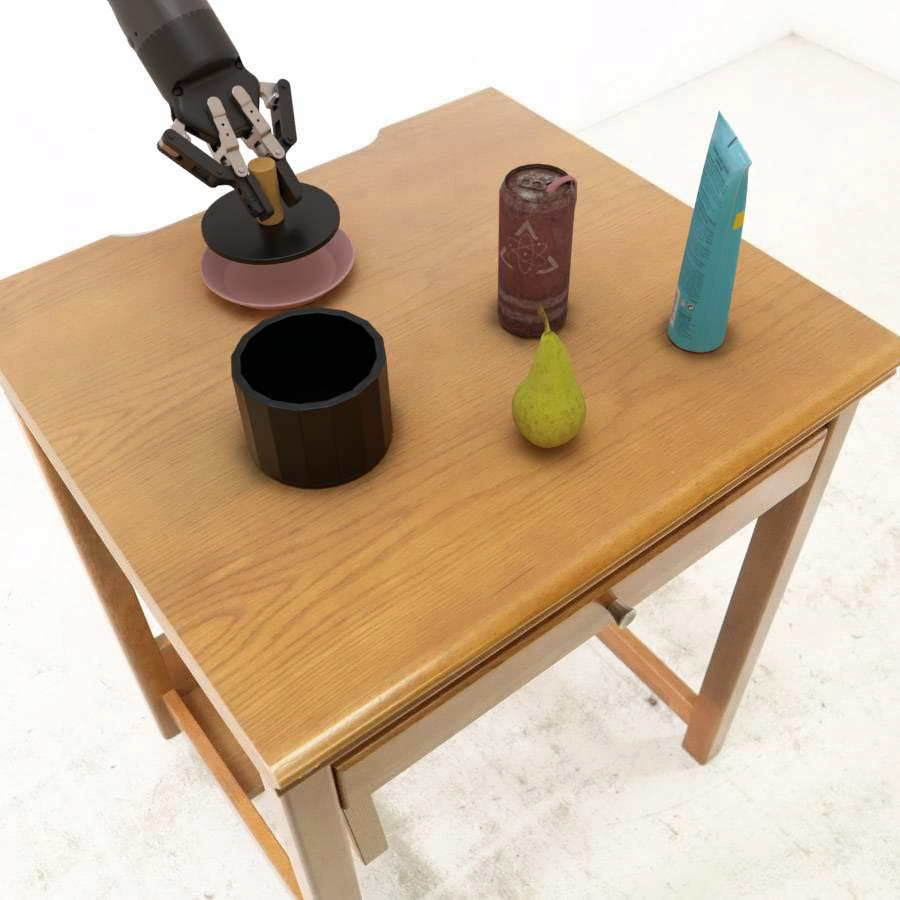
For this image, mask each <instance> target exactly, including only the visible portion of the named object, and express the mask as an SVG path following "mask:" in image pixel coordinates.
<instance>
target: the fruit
mask: <svg viewBox="0 0 900 900" xmlns="http://www.w3.org/2000/svg"><path fill="white" fill-rule="evenodd" d="M537 312H538V313H539V315H540V316H541V317H542V318H543V320H544V323H545V332H544V333H543V334H542V336H541V337H540V339H539V340H540V342H539V345H538V348H537V350H536V351H535V354H534V356H533V359H532V363H531V367H530V368H529V369H530V370H529V372H528V373H527V375H526V377H525V378H524V379H523V380H522V381H520V382H519V384H518V386H517V387H516V388H515V390H514V393H513V395H512V399H511V415H512V419H513V422H514V424H515V426H516V428H517V429H518V431H519V432H520V434H521V435H522V436H523V437H524V438H525V439H526V440H527V441H528V442H529V443H531V444H533V445H534V446H536V447H539V448H544V449H547V448H548V449H550V448H555V447H559V446H562V445H564V444H566V443H568V442H569V441H570V440H572V439H573V438H574V437H575V436H576V435H577V434H578V433H579V432H580V431H581V429H582V427H583V425H584V423H585V420H586V416H587V405H586V404H587V403H586V399H585V396H584V393H583V391H582V388H581V386H580V385H579V383H578V381H577V378H576V375H575V373H574V367H573V365H572V361H571V358H570V355H569V353H568V350H567V348H566V347H565V344H564V343H563V342H562V341H561V339H560V337H559V336H558V335H557V334H556V333H555V332H552V331H551V330H550V328H549V323H548V319H547V316H546V313H545V312H544V309H543V307H542V306H539V307H537Z"/></svg>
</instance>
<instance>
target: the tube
mask: <svg viewBox="0 0 900 900" xmlns="http://www.w3.org/2000/svg"><path fill="white" fill-rule="evenodd" d="M752 164H753V160H752V159H751V157H750V155H749V154H748V151H746V149H745V147H744V145H743V144H742V143H741V141H740V139H739V137H738V135H737V134H736V132H735V131H734V130H733V127H732V126H731V124H729V122H728V120H727V119H726V118H725V116H724V115H723V113H722V112H721V110H718V113H717V116H716V119H715V123H714V126H713V130H712V133H711V137H710V141H709V144H708V148H707V151H706V156H705V161H704V164H703V168H702V172H701V176H700V181H699V185H698V190H697V194H696V199H695V203H694V207H693V210H692V211H693V212H692V216H691V221H690V225H689V230H688V234H687V239H686V243H685V247H684V251H683V257H682V262H681V266H680V270H679V275H678V280H677V284H676V288H675V294H674V298H673V302H672V307H671V313H670V318H669V321H668V327H667V334H668V338H669V339H670V341H671V342H672V343H673V344H674V345H675V346H677V347H678V348H680V349H682V350H684V351H687V352H694V353H708V352H712V351H714V350H717V349H718V348H719V347H721V345H723V343H724V341H725V337H726V333H727V327H728V321H729V316H730V309H731V308H730V307H731V303H732V297H733V292H734V285H735V279H736V273H737V268H738V267H737V266H738V261H739V255H740V248H741V241H742V235H743V230H744V229H743V228H744V223H745V222H744V221H745V215H746V214H745V213H746V208H747V207H746V205H747V197H748V188H749V187H748V186H749V169H750V167H751V166H752Z"/></svg>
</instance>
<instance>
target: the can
mask: <svg viewBox="0 0 900 900" xmlns="http://www.w3.org/2000/svg"><path fill="white" fill-rule="evenodd" d="M577 201H578V181H577V180H576V178H575V177H574V176H572V175H570V174H568V173H567V171H566V170H564V169H561V168H560V167H559V166H555V165H551V164H546V163H527V164H523V165H519V166H516V167H515V168H513V169H511V170H510V171H509V172H508V173H507V174H506V175H505V177H504V179H503V181H502V182H501V184H500V187H499V189H498V246H497V247H498V248H497V249H498V251H497V253H498V254H497V265H498V266H497V316H498V320H499V321H500V323H501V324H502V325H503V327H504V328H505V329H506V330H507V331H509V332H510V333H512V334H514V335H516V336H518V337H522V338H528V339H534V338H535V339H536V338H541V336H542V334H543V333H544V332H545V323H544V320H543V318H542V317H541V316H540V315H539V313H538V312H537V307H539V306H542V307H543V309H544V312H545V313H546V316H547V319H548V323H549V328H550V330H551V331H552V332H554V333H555V332H557V331H558V330H559V329H560V328H561V326H562V325H563V324H564V323H565V322H566V319H567V316H568V307H569V291H570V279H571V278H570V277H571V266H572V251H573V240H574V239H573V238H574V223H575V211H576V206H577Z"/></svg>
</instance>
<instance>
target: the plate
mask: <svg viewBox="0 0 900 900" xmlns="http://www.w3.org/2000/svg"><path fill="white" fill-rule="evenodd" d="M355 258H356V249H355V245H354V243H353V240H352V239H351V237H350V236H349V234H347V232H346V231H345V230H344V229H342V228H341V227H340V226H339V228H338V230H337V232H336V234H335V235H334V237H333V238H332V239H331V240H330V241H329V242H328V243H327V244H326V245H325V246H323V247H322V248H320V249H319V250H317V251H316V252H314V253H312V254H310V255H308V256H305V257H303V258H300V259H297V260H294V261H290V262H286V263H280V264H273V265H250V264H243V263H237V262H234V261H230V260H228V259H225V258H223V257H221V256H219V255H217V254H216V253H215V252H213V251H212V250H211V249H210V248H209V247H208V246H207V247H205V250H203V253H202V255H201V259H200V263H199V271H200V275H201V279H202V281H203V282H204V284H205V285H206V287H207V288H208V289H209V290H210V291H211V292H213V293H214V294H215V295H217V296H218V297H219V298H221V299H223V300H226V301H228V302H230V303H234V304H236V305H240V306H243V307H247V308H251V309H254V310H261V311H283V310H292V309H295V308H299V307H301V306H302V307H303V306H305V305H307V304H310V303H313V302H314V301H316V300H319V299H320V298H321V297H322V296H324V295H326V294H327V293H328V292H330V291H332V290H333V289H334V288H336V287H337V286H338V285H339V284H340V283H342V282H343V281H344V280H345V278H347V276H348V275H349V274H350V272H351V271H352V268H353V266H354V263H355V260H356V259H355Z"/></svg>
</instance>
